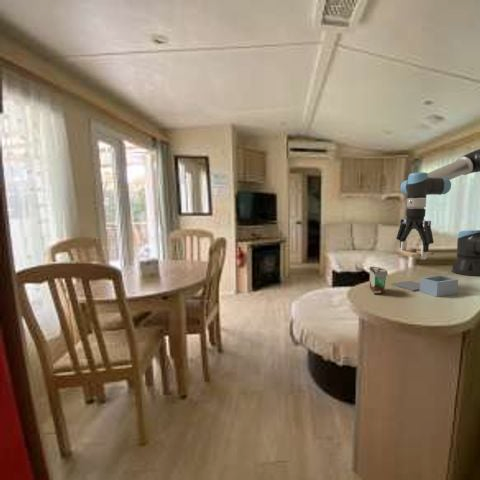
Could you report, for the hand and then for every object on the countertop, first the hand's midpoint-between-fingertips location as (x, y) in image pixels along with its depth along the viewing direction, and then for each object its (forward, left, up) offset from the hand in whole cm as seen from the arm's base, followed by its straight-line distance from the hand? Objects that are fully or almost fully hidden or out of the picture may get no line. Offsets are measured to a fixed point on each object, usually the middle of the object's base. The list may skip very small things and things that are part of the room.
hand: (413, 257), depth 143 cm
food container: (+20, +1, -14) cm, 24 cm away
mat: (0, 0, -14) cm, 14 cm away
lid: (0, 0, +1) cm, 1 cm away
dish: (-2, +12, -14) cm, 18 cm away
